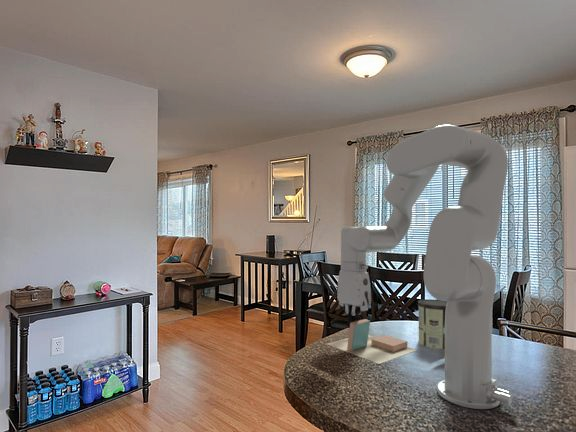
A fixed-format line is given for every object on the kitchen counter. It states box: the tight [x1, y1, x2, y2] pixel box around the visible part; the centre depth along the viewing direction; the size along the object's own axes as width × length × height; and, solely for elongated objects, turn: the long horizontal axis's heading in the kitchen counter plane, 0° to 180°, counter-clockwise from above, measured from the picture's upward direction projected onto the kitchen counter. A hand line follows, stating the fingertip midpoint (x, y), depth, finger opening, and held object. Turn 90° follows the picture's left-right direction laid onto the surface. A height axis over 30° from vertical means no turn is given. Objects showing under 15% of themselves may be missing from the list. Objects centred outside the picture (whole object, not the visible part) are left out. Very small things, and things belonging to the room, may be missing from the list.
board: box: [326, 334, 417, 365], centre depth 111 cm, size 20×18×1 cm
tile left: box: [347, 318, 371, 351], centre depth 110 cm, size 2×7×8 cm, turn 129°
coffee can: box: [417, 298, 447, 350], centre depth 116 cm, size 10×10×14 cm
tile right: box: [371, 334, 408, 352], centre depth 112 cm, size 2×7×8 cm
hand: (352, 327), depth 112 cm, fingers closed
